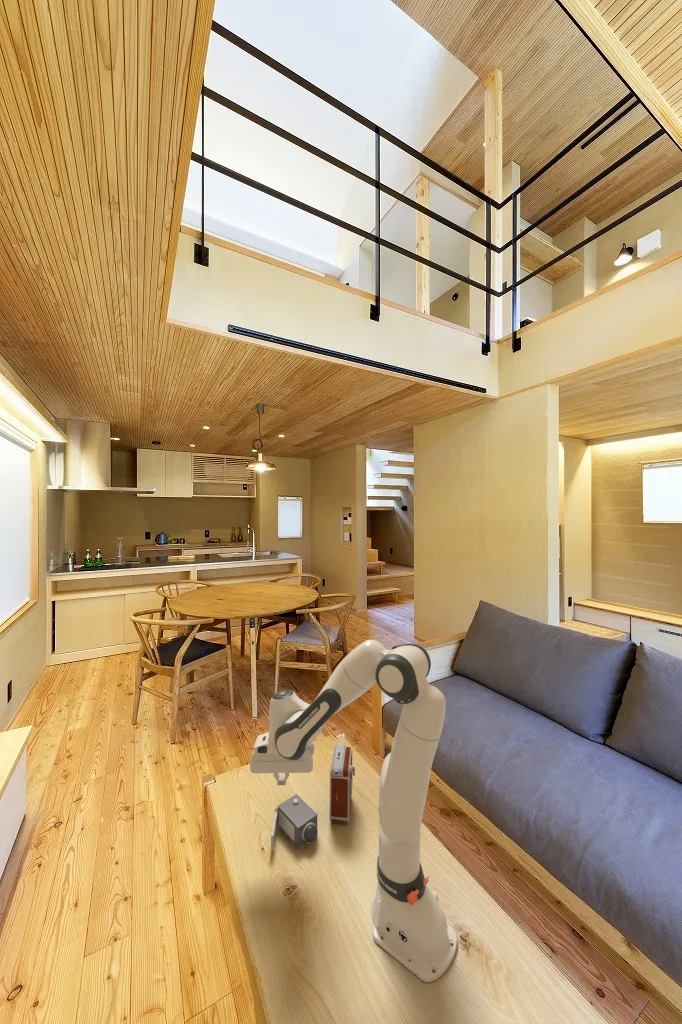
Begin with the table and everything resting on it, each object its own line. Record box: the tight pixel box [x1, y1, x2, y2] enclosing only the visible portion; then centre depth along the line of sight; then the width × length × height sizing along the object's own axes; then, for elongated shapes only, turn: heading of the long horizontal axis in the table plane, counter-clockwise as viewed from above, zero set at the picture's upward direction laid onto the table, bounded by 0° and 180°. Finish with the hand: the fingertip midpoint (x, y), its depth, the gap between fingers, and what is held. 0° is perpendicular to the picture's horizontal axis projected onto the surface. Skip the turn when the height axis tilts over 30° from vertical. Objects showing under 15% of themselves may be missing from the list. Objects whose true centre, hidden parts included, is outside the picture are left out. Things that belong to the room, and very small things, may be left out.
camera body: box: [277, 793, 319, 850], centre depth 127 cm, size 14×8×8 cm, turn 42°
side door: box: [270, 807, 279, 853], centre depth 124 cm, size 10×1×6 cm, turn 2°
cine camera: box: [329, 742, 356, 825], centre depth 139 cm, size 9×19×20 cm, turn 174°
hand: (281, 783), depth 121 cm, fingers closed
